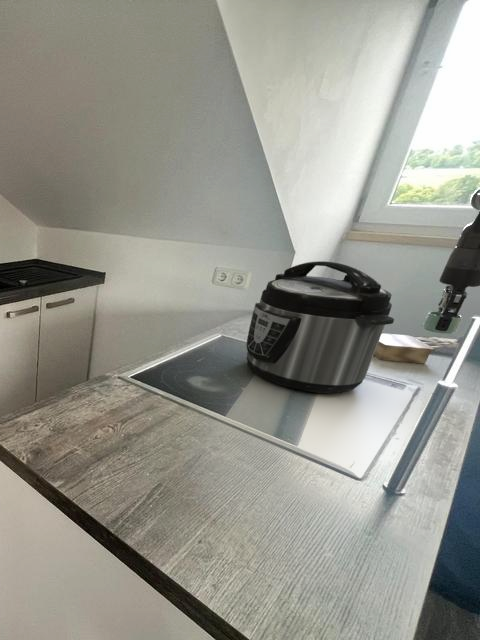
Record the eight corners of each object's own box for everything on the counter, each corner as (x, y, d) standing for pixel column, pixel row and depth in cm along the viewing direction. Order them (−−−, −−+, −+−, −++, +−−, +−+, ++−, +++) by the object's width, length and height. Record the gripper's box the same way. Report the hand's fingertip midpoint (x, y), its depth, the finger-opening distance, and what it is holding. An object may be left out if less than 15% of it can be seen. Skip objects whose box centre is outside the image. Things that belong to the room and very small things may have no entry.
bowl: (450, 328, 108) (457, 313, 106) (459, 335, 103) (466, 319, 101) (418, 325, 111) (425, 310, 109) (425, 331, 106) (432, 316, 104)
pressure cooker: (236, 348, 129) (260, 251, 117) (343, 363, 118) (383, 256, 105) (241, 386, 105) (273, 269, 92) (377, 410, 93) (434, 278, 80)
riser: (404, 349, 126) (411, 335, 124) (428, 364, 116) (435, 349, 114) (359, 346, 130) (365, 332, 128) (378, 360, 119) (385, 345, 117)
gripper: (494, 271, 93) (462, 337, 99) (485, 263, 102) (456, 323, 109) (448, 268, 97) (421, 331, 104) (443, 260, 107) (419, 318, 114)
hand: (439, 326), depth 106 cm, fingers closed on bowl, 6 cm apart
